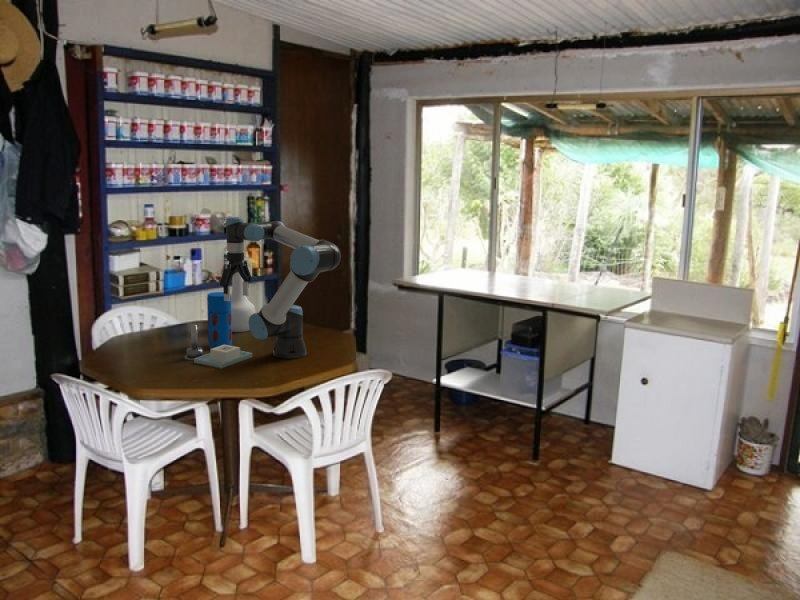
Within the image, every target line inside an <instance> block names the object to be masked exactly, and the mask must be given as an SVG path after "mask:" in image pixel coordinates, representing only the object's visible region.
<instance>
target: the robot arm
mask: <svg viewBox="0 0 800 600" xmlns="http://www.w3.org/2000/svg"><path fill="white" fill-rule="evenodd" d="M225 232H226V234H225V235H226V260H227V262H228V264H227V263H224V265H223V272H222V276H221V278H220V283H219V286H221V287H223V288H222V289H223V292H224V301H230V294H231V287H230V286H229V285H230V283H232V282H231V281H232V277H233V275H234V274H235V273H237V272H239V274H240V276H241V277H242V279H243V280H244V281H243V282H242V285H243V296H246V297H249V288H250V286H249V284H250V283H251V280H252V274H251V271H250V269H249V267H248V261H247V260H245V252H244V251H245V242H244V241H248V242H249V241H250V242H252V243H253V242H259V241H262V240H273V241H275V242H278V243H280V244H282V245H284V246H287V247H289V248H292V249H293V251H292V252H291V254H290V259H289V260H290V261H289V267H290V269H289V270H290V272H288V274H287V276H286V277H285V279H284V280H283V282H282V283H281V285H280V286H279V287H278V289H277V291H276V292H275V294H273V297H272V298H271V300H270V301H269V303H265V304H264V305H262V307H261V308H260V310H259V311H258V312H255V313H254V314H252V315H251V316H250V318H249V329H250V330H249V331H250V333H251V335H252V336H253V337H254V339H257V340H267V339H270V338H271V339H272V338H273V337H276V340H275V343H274V345H273V350H272V355H273V357H275V358H279V359H285V360H286V359H288V360H289V359H290V360H292V359H293V360H294V359H300V358H303V357H305V356H307V347H306V344H305V341H304V337H303V332H304V331H303V330H304V329H303V327H304V326H303V325H304V323H303V322H304V319H303V318H304V317H303V316H304V315H303V308H302V307H301V306H300V305H296V304H295V302H296V301H297V299H298V298H299V296H300V294H301V293H302V292H303V290H304V289H305V288H306V286H307V285H308V283H313V281H315V280H316V278H317V277H318V275H319V274H320V273H323V272H329V271H332V270H335V269H336V268H337V267H338V266H339V265H340V262H341V258H342V255H341V254H342V253H341V250H340V248H339V247H338V246H337V245H336V244H334V243H333V242H331V241H328V240H326V239H316V238H314V237H312V236H310V235H306V234H304V233H302V232H299V231H296V230H294V229H292V228H289V227H287V226H285V224H284V222H282V221H278V220H277V221H276V220H275V221H274V220H272V221H266V222H264V221H263V222H253V223H251V222H249V223H248V222H244V218H243V217H240V216H231V217H230V216H229V217H227V218H226V220H225Z"/></svg>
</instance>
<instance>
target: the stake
mask: <svg viewBox="0 0 800 600" xmlns="http://www.w3.org/2000/svg"><path fill="white" fill-rule="evenodd" d="M198 332H199V331H198V324H196V323H194V324H193V323H192V324H190V339H191V341H190V342H191V347H188V348H186V355H184V360H186V361H193V362H194V358H197V357H200V356H203V355H205V354H204V348H203V347H201V346H199V339H198V338H199V337H198V336H199V335H198V334H199V333H198Z"/></svg>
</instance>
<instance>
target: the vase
mask: <svg viewBox="0 0 800 600" xmlns="http://www.w3.org/2000/svg"><path fill="white" fill-rule="evenodd" d="M231 281H232V282H231V283H232V284H231V293H230V294H231V316H232V333H244V332H249V331H250V329H249V318H250V316H251V315H252V314H254V313H256V308H255V305H254V304H253V303H252V302H251V301H250V300H249V299H248V296H243V285H242V282H243V281H244V280H243V279H242V277H241V276H240V274H239V272H237V273H235V274H234V275H233V277H232V279H231Z"/></svg>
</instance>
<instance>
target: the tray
mask: <svg viewBox="0 0 800 600" xmlns="http://www.w3.org/2000/svg"><path fill="white" fill-rule="evenodd" d="M251 358H253V353H252V352H249V351H243V350H240V357H238V358H235V359H232V360H230V361H227V362H224V363H222V362H217V361H212V360H211V355H210V352H209V353H206V354H204V355H203V356H200V357H197V358H194V361H193V362H194V364H198V365H201V366H206V367H207V366H208V367H212V368H216V369H224V368H227V367H230V366H233V365H235V364H237V363H240V362H241V363H242V362H243V361H246V360H248V359H249V360H250V359H251Z"/></svg>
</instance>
